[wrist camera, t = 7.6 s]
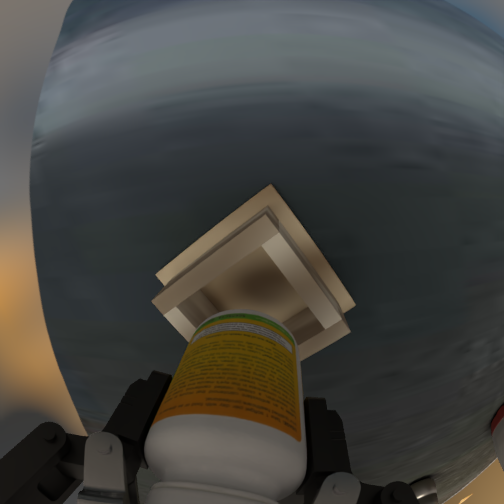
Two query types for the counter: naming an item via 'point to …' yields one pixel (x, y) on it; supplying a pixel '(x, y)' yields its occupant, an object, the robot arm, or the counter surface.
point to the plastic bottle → (425, 491)
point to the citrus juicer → (498, 435)
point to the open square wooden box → (257, 276)
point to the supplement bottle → (231, 416)
